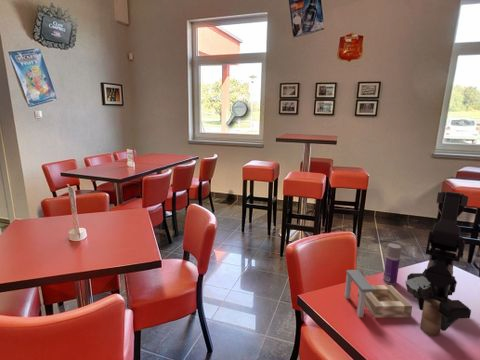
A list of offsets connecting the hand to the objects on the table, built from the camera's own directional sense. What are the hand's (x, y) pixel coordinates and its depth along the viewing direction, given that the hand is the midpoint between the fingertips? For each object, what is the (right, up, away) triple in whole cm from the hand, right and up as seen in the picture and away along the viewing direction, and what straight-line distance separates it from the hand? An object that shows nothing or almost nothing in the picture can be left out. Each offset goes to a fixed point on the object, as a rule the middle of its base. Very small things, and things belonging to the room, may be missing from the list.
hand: (431, 319), depth 87 cm
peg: (0, -4, +1) cm, 4 cm away
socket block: (-9, -1, +12) cm, 15 cm away
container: (+2, +2, +27) cm, 27 cm away
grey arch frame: (-18, -1, +12) cm, 21 cm away
